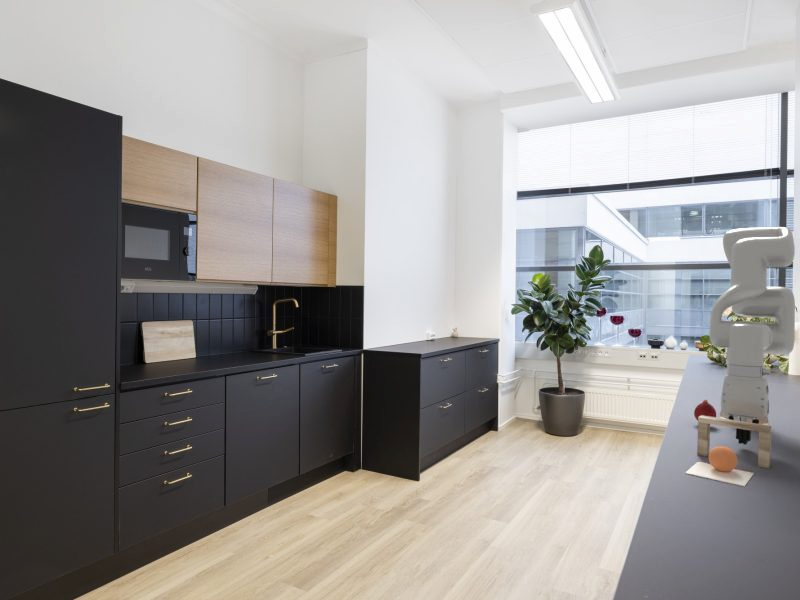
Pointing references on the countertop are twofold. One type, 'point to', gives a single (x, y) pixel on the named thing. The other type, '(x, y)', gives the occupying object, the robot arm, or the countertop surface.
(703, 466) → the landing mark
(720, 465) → the ball
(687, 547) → the countertop surface
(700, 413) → the onion
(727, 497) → the countertop surface
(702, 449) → the bridge
